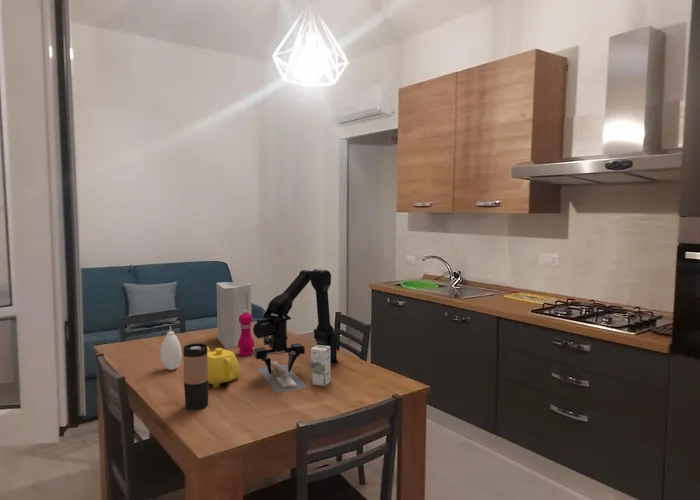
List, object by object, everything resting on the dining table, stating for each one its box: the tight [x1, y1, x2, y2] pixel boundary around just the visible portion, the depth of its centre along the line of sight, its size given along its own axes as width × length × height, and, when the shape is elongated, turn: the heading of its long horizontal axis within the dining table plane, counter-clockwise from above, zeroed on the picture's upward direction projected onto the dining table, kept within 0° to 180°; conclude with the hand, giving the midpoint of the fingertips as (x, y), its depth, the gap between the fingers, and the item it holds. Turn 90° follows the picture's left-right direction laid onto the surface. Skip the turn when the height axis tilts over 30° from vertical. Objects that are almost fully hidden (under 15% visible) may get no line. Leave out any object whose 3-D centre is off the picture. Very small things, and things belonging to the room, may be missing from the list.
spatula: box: [271, 360, 297, 389], centre depth 187 cm, size 5×24×3 cm, turn 24°
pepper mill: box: [237, 310, 255, 357], centre depth 219 cm, size 7×7×20 cm
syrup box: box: [310, 344, 332, 387], centre depth 181 cm, size 6×6×14 cm
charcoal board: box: [256, 364, 309, 393], centre depth 187 cm, size 12×28×1 cm, turn 24°
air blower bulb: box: [160, 325, 183, 371], centre depth 199 cm, size 8×8×18 cm
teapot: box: [207, 345, 241, 389], centre depth 186 cm, size 14×20×13 cm
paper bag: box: [216, 281, 253, 349], centre depth 240 cm, size 19×15×28 cm
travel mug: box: [182, 343, 209, 411], centre depth 162 cm, size 8×8×20 cm
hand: (279, 373), depth 188 cm, fingers open, 7 cm apart
